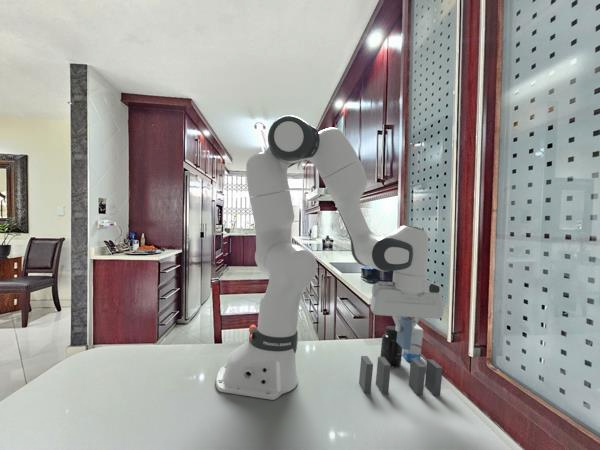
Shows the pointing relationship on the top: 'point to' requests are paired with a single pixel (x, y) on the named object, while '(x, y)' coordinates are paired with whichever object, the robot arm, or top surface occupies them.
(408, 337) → the domino
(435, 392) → the domino
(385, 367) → the domino
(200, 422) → the top surface
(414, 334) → the ink box
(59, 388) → the top surface
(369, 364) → the domino
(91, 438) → the top surface
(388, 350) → the supplement bottle
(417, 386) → the domino
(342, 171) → the robot arm
